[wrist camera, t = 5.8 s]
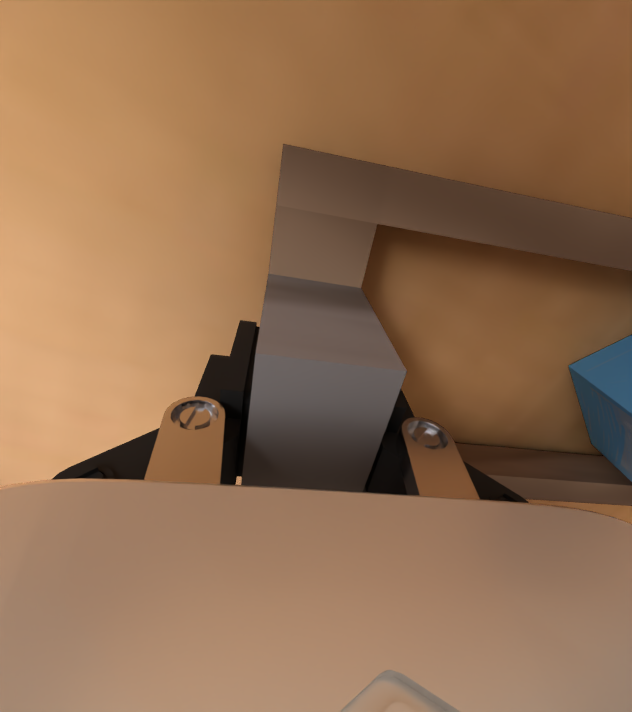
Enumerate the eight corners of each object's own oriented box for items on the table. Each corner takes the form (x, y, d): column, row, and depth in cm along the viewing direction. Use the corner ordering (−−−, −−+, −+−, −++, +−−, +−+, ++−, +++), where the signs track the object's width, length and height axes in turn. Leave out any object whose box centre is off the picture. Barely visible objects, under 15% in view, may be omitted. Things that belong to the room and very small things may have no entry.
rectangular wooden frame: (283, 145, 11) (279, 133, 5) (865, 269, 14) (1280, 351, 8) (249, 448, 17) (227, 608, 11) (660, 480, 21) (812, 613, 15)
